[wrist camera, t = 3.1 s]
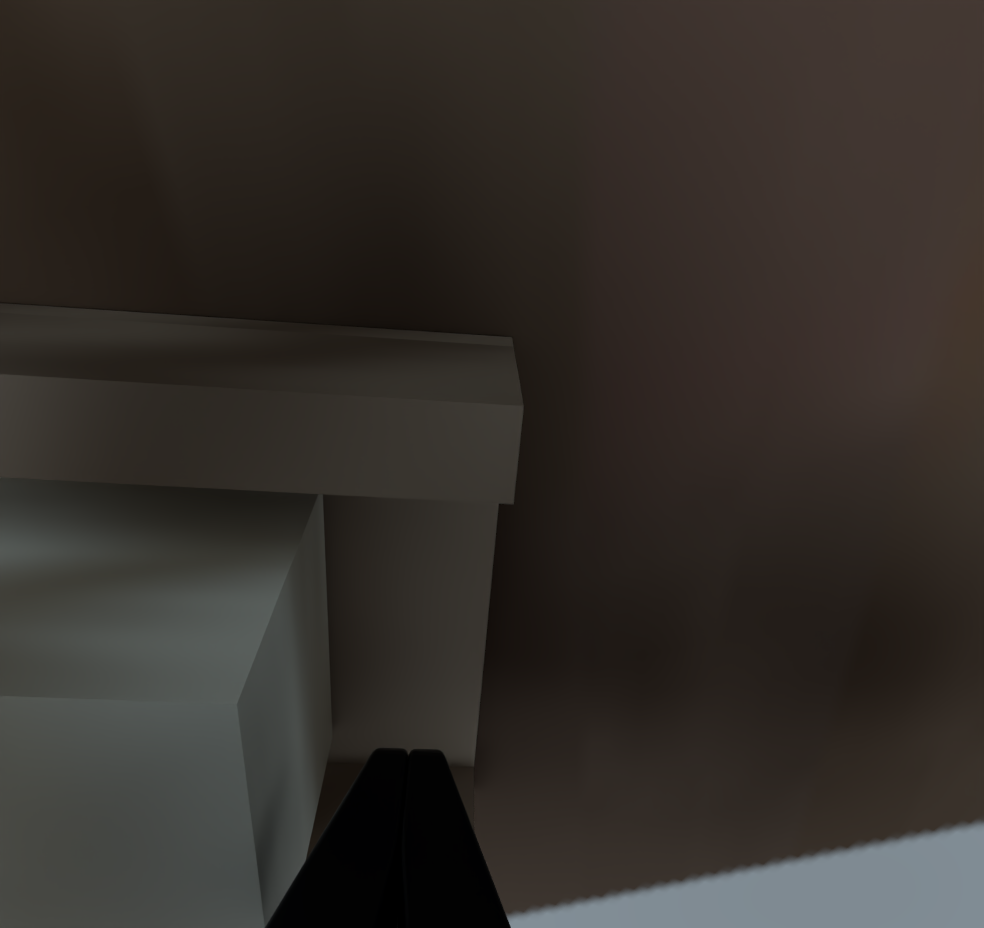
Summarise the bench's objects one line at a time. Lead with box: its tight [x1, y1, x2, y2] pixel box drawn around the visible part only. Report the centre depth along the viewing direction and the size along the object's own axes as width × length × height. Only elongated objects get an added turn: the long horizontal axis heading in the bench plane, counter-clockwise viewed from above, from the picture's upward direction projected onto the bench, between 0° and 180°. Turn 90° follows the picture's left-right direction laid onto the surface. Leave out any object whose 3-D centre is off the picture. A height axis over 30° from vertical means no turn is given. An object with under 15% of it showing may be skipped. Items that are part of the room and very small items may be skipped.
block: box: [0, 477, 333, 928], centre depth 9 cm, size 5×5×4 cm
